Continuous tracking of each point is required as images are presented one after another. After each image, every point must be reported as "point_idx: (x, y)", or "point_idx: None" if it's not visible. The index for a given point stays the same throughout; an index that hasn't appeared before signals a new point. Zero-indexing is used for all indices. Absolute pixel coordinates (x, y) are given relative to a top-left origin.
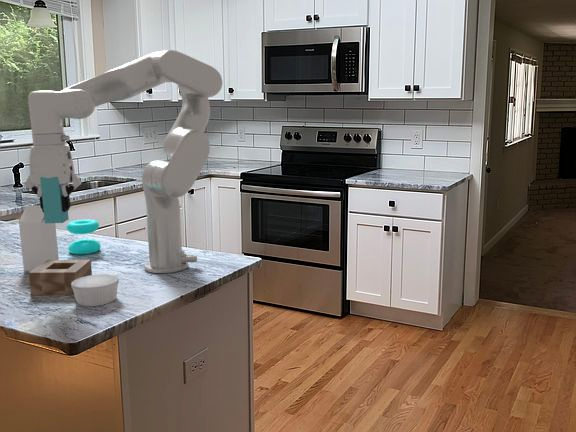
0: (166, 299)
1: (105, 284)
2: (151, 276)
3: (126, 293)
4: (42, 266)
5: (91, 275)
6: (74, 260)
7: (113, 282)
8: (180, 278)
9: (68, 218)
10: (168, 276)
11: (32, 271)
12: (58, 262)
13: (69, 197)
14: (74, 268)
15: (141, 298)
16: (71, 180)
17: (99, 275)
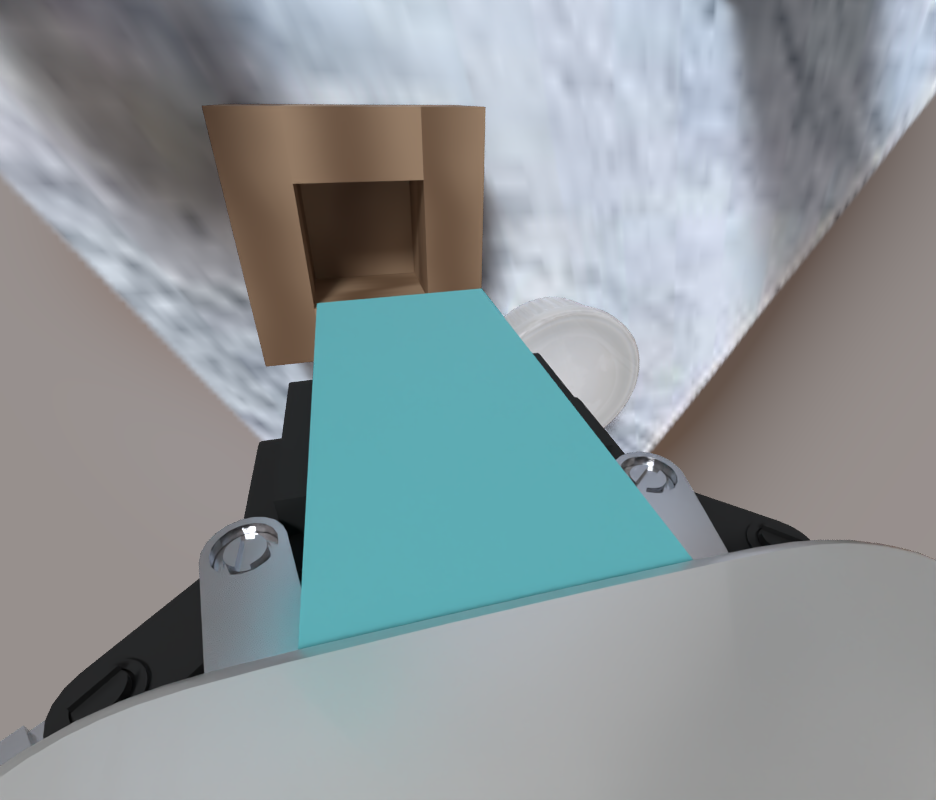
0: (731, 329)
1: (605, 418)
2: (710, 35)
3: (620, 282)
4: (268, 261)
5: (538, 328)
6: (394, 126)
7: (627, 397)
8: (814, 80)
9: (483, 292)
10: (777, 41)
11: (272, 347)
12: (315, 173)
13: (623, 454)
14: (455, 288)
15: (666, 326)
16: (864, 563)
17: (568, 326)
